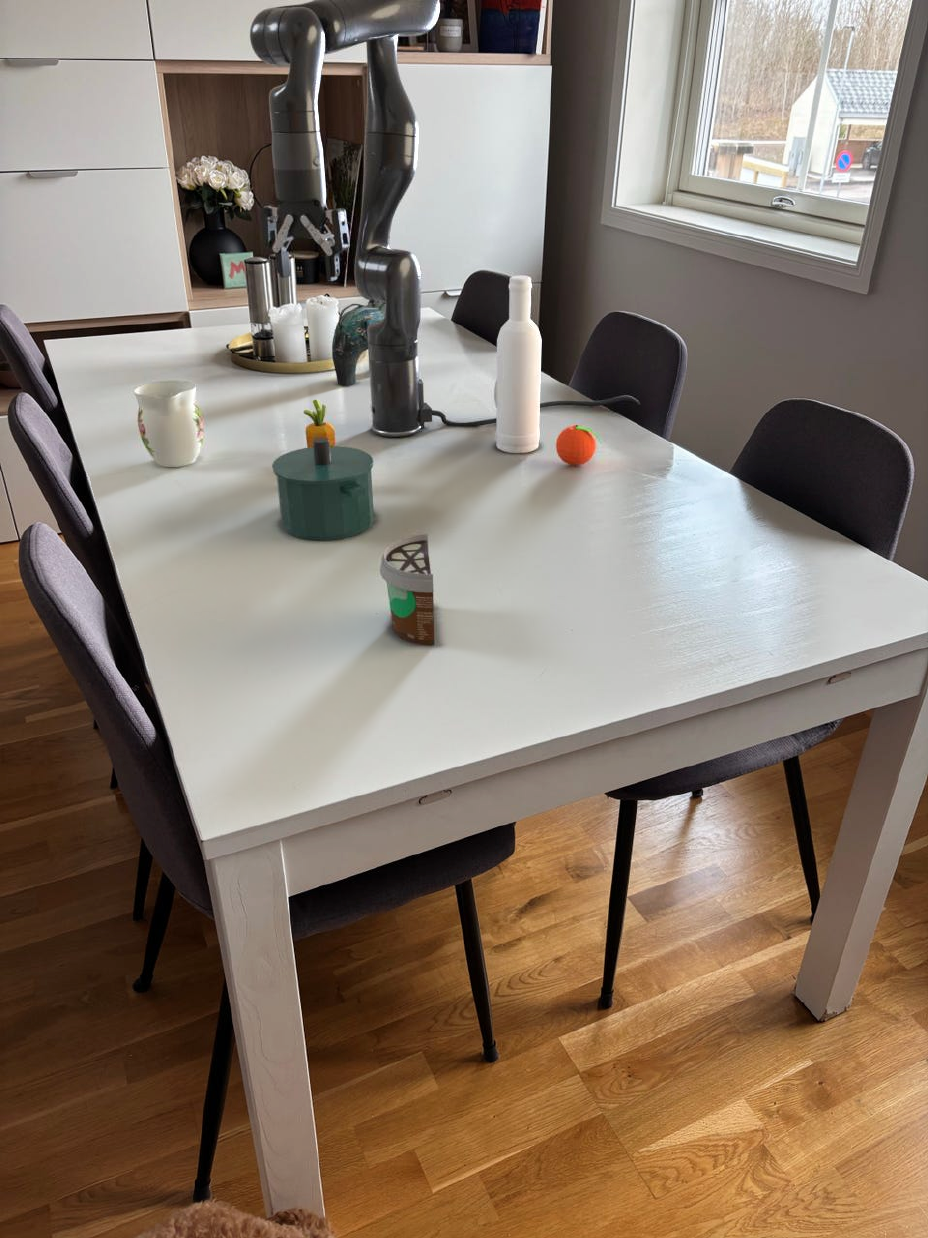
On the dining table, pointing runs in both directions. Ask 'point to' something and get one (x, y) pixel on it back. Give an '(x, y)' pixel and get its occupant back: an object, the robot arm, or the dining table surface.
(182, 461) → the pitcher
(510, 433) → the bottle
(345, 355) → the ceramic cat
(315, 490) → the pot
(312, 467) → the pot lid
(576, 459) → the clementine
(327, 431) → the carrot
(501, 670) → the dining table surface
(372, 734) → the dining table surface
